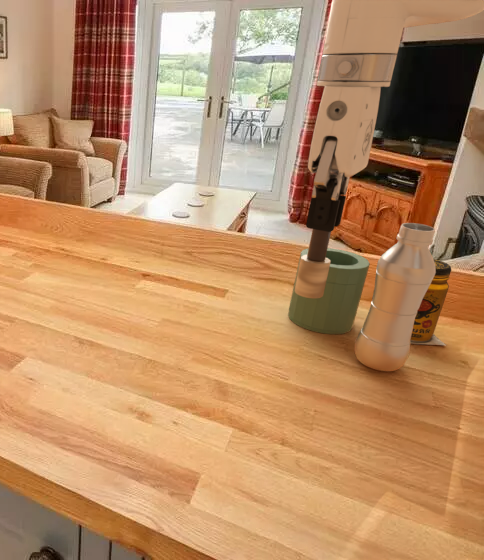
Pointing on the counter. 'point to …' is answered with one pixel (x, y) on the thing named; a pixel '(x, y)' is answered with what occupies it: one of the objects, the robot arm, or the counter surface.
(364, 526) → the counter surface
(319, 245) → the brush
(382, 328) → the plastic bottle
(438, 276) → the condiment
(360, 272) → the green hollow cylinder cup
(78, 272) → the counter surface
